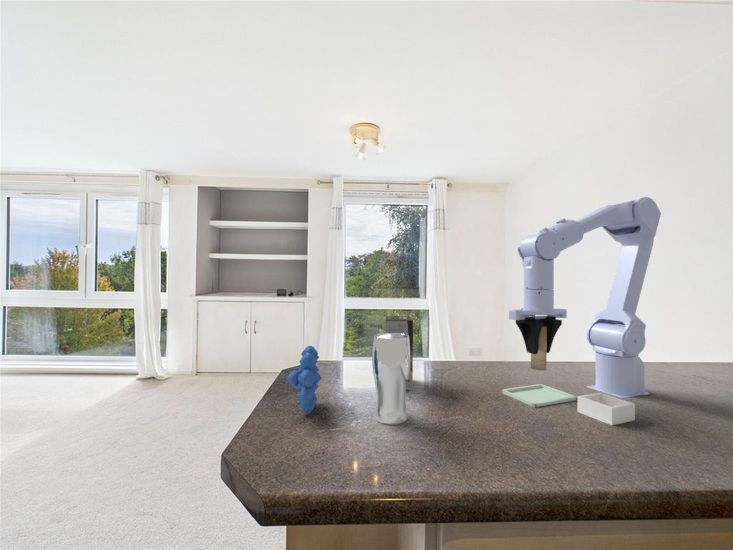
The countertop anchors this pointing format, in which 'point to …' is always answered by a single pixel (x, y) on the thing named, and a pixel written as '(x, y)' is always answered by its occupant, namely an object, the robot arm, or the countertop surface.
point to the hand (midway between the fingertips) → (538, 352)
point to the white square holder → (606, 408)
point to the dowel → (540, 352)
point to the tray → (538, 395)
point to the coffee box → (403, 327)
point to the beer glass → (391, 376)
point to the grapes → (306, 379)
